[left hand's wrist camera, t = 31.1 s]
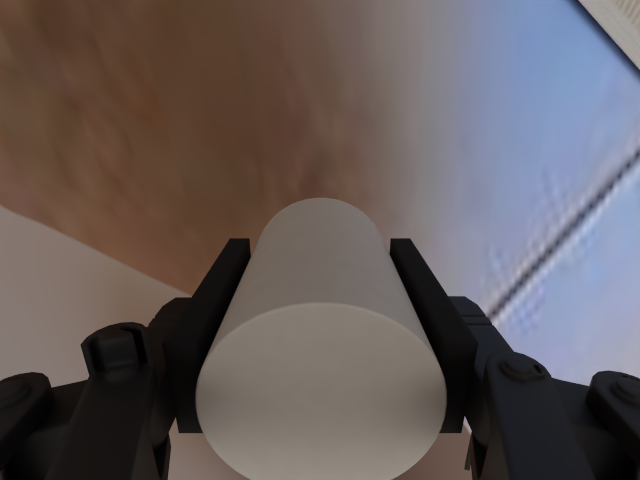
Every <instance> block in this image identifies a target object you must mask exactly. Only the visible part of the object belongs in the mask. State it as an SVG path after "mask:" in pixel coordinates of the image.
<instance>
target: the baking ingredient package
mask: <svg viewBox="0 0 640 480" xmlns="http://www.w3.org/2000/svg"><path fill="white" fill-rule="evenodd" d="M579 2H580V3H581V4H582V5H583V6H584V7H585V8H586V10H587V11H588V12H589V13H590V14H591V15H592V16H593V18H594V19H595V20H596V21H597V22H598V23H599V24H600V26H601V27H602V28H603V29H604V30H605V31H606V32H607V33H608V35H609V36H610V37H611V38H612V39H613V40H614V41H615V42H616V44H617V45H618V46H619V47H620V48H621V49H622V50H623V51H624V53H625V54H626V55H627V56H628V57H629V58H630V59H631V61H632V62H633V63H634V64H635V65H636V66H637V67H638V68H639V70H640V0H579Z"/></svg>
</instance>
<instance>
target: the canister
mask: <svg viewBox="0 0 640 480" xmlns="http://www.w3.org/2000/svg"><path fill="white" fill-rule="evenodd" d="M446 406H447V390H446V384H445V379H444V376H443V373H442V370H441V368H440V365H439V363H438V361H437V358H436V356H435V354H434V352H433V350H432V347H431V345H430V343H429V341H428V339H427V336H426V334H425V332H424V330H423V328H422V325H421V323H420V321H419V319H418V316H417V314H416V312H415V310H414V308H413V305H412V303H411V301H410V299H409V297H408V294H407V292H406V290H405V288H404V286H403V283H402V281H401V279H400V277H399V274H398V272H397V270H396V268H395V266H394V263H393V261H392V259H391V257H390V255H389V252H388V250H387V248H386V246H385V243H384V241H383V239H382V237H381V235H380V233H379V231H378V229H377V227H376V226H375V224H374V223H373V222H372V220H371V219H370V218H369V217H368V216H367V215H366V214H365V213H363V212H362V211H361V210H359V209H358V208H356V207H354V206H353V205H351V204H348V203H346V202H343V201H340V200H336V199H330V198H311V199H305V200H302V201H298V202H296V203H293V204H291V205H289V206H287V207H285V208H284V209H282V210H281V211H280V212H278V213H277V214H276V215H275V216H274V217H273V218H272V219H271V220H270V221H269V222H268V224H267V225H266V226H265V228H264V230H263V232H262V234H261V236H260V238H259V240H258V242H257V245H256V247H255V249H254V251H253V254H252V256H251V258H250V260H249V263H248V265H247V267H246V269H245V272H244V274H243V276H242V278H241V281H240V283H239V285H238V287H237V290H236V292H235V294H234V296H233V298H232V301H231V303H230V305H229V307H228V310H227V312H226V314H225V316H224V319H223V321H222V323H221V325H220V328H219V330H218V332H217V334H216V337H215V339H214V341H213V343H212V346H211V348H210V350H209V352H208V355H207V357H206V359H205V361H204V364H203V366H202V368H201V371H200V374H199V377H198V380H197V386H196V411H197V416H198V421H199V423H200V426H201V429H202V432H203V433H204V435H205V437H206V439H207V441H208V443H209V444H210V445H211V447H212V448H213V449H214V451H215V452H216V453H217V454H218V455H219V456H220V457H221V458H222V459H223V460H224V461H225V462H226V463H227V464H228V465H229V466H231V467H232V468H233V469H234V470H236V471H237V472H239V473H240V474H242V475H243V476H245V477H247V478H249V479H251V480H392V479H394V478H395V477H397V476H399V475H400V474H402V473H403V472H405V471H406V470H408V469H409V468H411V467H412V466H413V465H414V464H415V463H416V462H418V461H419V460H420V459H421V458H422V457H423V455H424V454H425V453H426V452H427V451H428V450H429V448H430V447H431V446H432V444H433V443H434V441H435V440H436V438H437V436H438V434H439V432H440V430H441V427H442V424H443V421H444V418H445V413H446Z"/></svg>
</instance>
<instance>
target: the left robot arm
mask: <svg viewBox="0 0 640 480" xmlns="http://www.w3.org/2000/svg"><path fill="white" fill-rule="evenodd" d="M390 257H391V259H392V261H393V263H394V266H395V268H396V270H397V272H398V274H399V277H400V279H401V281H402V283H403V286H404V288H405V290H406V292H407V294H408V297H409V299H410V301H411V303H412V305H413V308H414V310H415V312H416V314H417V316H418V319H419V321H420V323H421V325H422V328H423V330H424V332H425V334H426V336H427V339H428V341H429V343H430V345H431V347H432V350H433V352H434V354H435V356H436V358H437V361H438V363H439V365H440V368H441V370H442V373H443V376H444V379H445V384H446V390H447V406H446V413H445V418H444V421H443V424H442V427H441V430H440V432H439V433H461V432H462V427H463V421H464V416H465V417H466V419H467V421H468V424H469V426H470V428H471V430H472V433H471V438H470V443H469V447H468V452H467V457H466V462H465V470H469V469H470V465H471V469H472V479H473V480H640V379H639V378H637V377H635V376H632V375H629V374H625V373H621V372H615V371H601V372H598V373H596V374H595V375H594V376H593V377H592V380H591V383H590V386H585V385H581V384H576V383H571V382H567V381H562V380H558V379H555V378H552V377H551V375H550V374H549V372H548V371H547V369H546V368H545V367H544V366H543V365H541V364H540V363H539V362H537V361H536V360H534V359H532V358H530V357H528V356H526V355H524V354H520V353H517V352H514V351H513V350H512V349H511V347H510V346H509V345H508V343H507V342H506V341H505V340H504V338H503V337H502V336H501V334H500V333H499V332H498V331H497V329H496V328H495V327H494V325H492V323H491V321H490V320H489V319H488V318H487V317H486V316H485V314H484V312H483V311H482V310H481V309H480V307H479V306H478V305H477V304H475V303H474V302H472V301H471V300H469V299H468V298H466V297H465V296H447V294H446V293H445V291H444V290H443V288H442V287H441V285H440V283H439V282H438V280H437V279H436V277H435V276H434V274H433V273H432V271H431V270H430V268H429V267H428V265H427V264H426V262H425V261H424V259H423V258H422V256H421V254H420V253H419V251H418V250H417V248H416V247H415V245H414V244H413V242H412V241H411V239H391V243H390ZM250 258H251V253H250V240H249V239H230V240H229V241H228V243H227V244H226V246H225V247H224V249H223V250H222V252H221V253H220V255H219V256H218V258H217V259H216V261H215V262H214V264H213V266H212V267H211V269H210V270H209V272H208V273H207V275H206V276H205V278H204V279H203V281H202V282H201V284H200V285H199V287H198V288H197V290H196V291H195V293H194V295H193V296H192V298H174V299H173V300H171V301H170V302H168V303H167V304H165V305H164V306H162V308H161V309H160V310H159V312H158V313H157V314H156V316H155V318H153V319H152V321H151V322H150V323H149V326H148V327H145V326H144V325H142V324H139V323H135V322H125V323H118V324H114V325H109V326H107V327H104V328H102V329H100V330H97V331H96V332H94V333H93V334H91V335H90V336H88V337H87V338H86V339H85V340H84V341H83V342H82V344H81V348H82V351H83V355H84V358H85V362H86V365H87V369H88V372H89V378H88V380H84V381H81V382H76V383H71V384H67V385H62V386H58V387H53V388H51V385H50V382H49V379H48V377H47V376H45V375H44V374H42V373H35V372H30V373H24V374H18V375H14V376H12V377H8V378H5V379H3V380H1V381H0V480H168V470H169V461H170V452H171V444H170V438H169V430H170V428H171V426H172V424H173V422H174V419H175V417H176V420H177V425H178V430H179V433H203V432H202V429H201V426H200V423H199V421H198V416H197V411H196V386H197V380H198V377H199V374H200V371H201V368H202V366H203V364H204V361H205V359H206V357H207V355H208V352H209V350H210V348H211V346H212V343H213V341H214V339H215V337H216V334H217V332H218V330H219V328H220V325H221V323H222V321H223V319H224V316H225V314H226V312H227V310H228V307H229V305H230V303H231V301H232V298H233V296H234V294H235V292H236V290H237V287H238V285H239V283H240V281H241V278H242V276H243V274H244V272H245V269H246V267H247V265H248V263H249V260H250Z"/></svg>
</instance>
